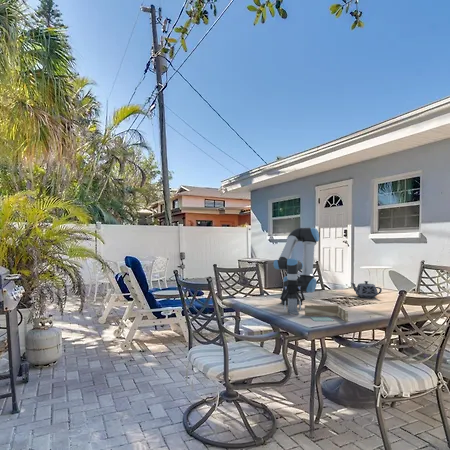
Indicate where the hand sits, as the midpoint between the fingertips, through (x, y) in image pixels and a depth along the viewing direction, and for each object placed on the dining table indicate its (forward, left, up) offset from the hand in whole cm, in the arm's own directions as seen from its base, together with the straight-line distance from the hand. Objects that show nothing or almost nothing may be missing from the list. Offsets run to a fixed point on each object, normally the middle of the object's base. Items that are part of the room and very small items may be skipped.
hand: (292, 309), depth 241 cm
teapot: (-68, +82, -2) cm, 106 cm away
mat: (+20, +16, -2) cm, 26 cm away
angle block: (+2, 0, -2) cm, 3 cm away
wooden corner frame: (+16, +19, -2) cm, 25 cm away
